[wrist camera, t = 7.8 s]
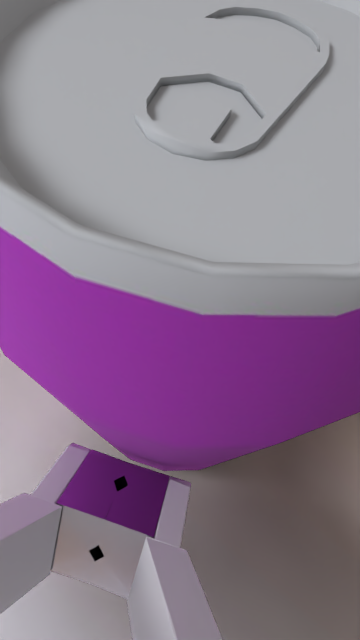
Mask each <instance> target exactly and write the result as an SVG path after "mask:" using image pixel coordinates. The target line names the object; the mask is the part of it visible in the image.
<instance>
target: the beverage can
mask: <svg viewBox="0 0 360 640" xmlns="http://www.w3.org/2000/svg"><path fill="white" fill-rule="evenodd" d="M0 347H1V349H2V351H3V353H4V355H5V356H6V357H8V358H9V359H10V360H11V361H12V362H14V363H15V364H16V365H17V366H18V367H19V368H21V369H22V370H23V371H24V372H25V373H27V374H28V375H29V376H30V377H31V378H33V379H34V380H35V381H36V382H37V383H38V384H40V385H41V386H42V387H43V388H44V389H46V390H47V391H48V392H49V393H50V394H52V395H53V396H54V397H55V398H56V399H57V400H59V401H60V402H61V403H62V404H63V405H65V406H66V407H67V408H68V409H69V410H71V411H72V412H73V413H74V414H75V415H77V416H78V417H79V418H80V419H81V420H82V421H84V422H85V423H86V424H87V425H88V426H90V427H91V428H92V429H93V430H94V431H96V432H97V433H98V434H99V435H100V436H101V437H103V438H104V439H105V440H106V441H108V442H109V443H110V444H111V445H113V446H114V447H115V448H117V449H118V450H119V451H120V452H122V453H123V454H124V455H125V456H127V457H128V458H129V459H130V460H133V461H136V462H139V463H142V464H145V465H148V466H151V467H154V468H157V469H160V470H163V471H177V470H201V469H204V468H207V467H210V466H213V465H216V464H219V463H222V462H225V461H228V460H231V459H234V458H237V457H240V456H243V455H246V454H249V453H252V452H255V451H258V450H261V449H264V448H267V447H270V446H273V445H276V444H279V443H281V442H284V441H286V440H289V439H292V438H294V437H297V436H299V435H302V434H304V433H307V432H310V431H312V430H315V429H317V428H320V427H322V426H325V425H327V424H330V423H333V422H335V421H338V420H340V419H343V418H345V417H348V416H351V415H353V414H356V413H358V412H360V0H0Z"/></svg>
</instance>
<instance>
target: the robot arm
mask: <svg viewBox="0 0 360 640" xmlns="http://www.w3.org/2000/svg"><path fill="white" fill-rule="evenodd" d="M169 477H170V478H169ZM190 490H191V484H190V482H187V481H184V480H181V479H178V478H175V477H172V476H168V475H165V474H162V473H159V472H156V471H153V470H150V469H146V468H143V467H140V466H137V465H134V464H130V463H128V462H125V461H122V460H120V459H117V458H114V457H111V456H109V455H106V454H103V453H100V452H98V451H95V450H90V449H88V448H85V447H82V446H80V445H77V444H75V443H72V444H70V445H69V446H67V448H66V449H65V450H64V452H63V453H62V454H61V455H60V457H59V458H58V459H57V461H56V462H55V463H54V465H53V466H52V467H51V469H50V470H49V471H48V473H47V474H46V475H45V477H44V478H43V479H42V480H41V482H40V483H39V484H38V486H37V487H36V488H35V490H34V491H33V492H32V494H31V495H29V494H26V493H23V494H20V495H18V496H16V497H14V498H12V499H10V500H8V501H5V502H3V503H1V504H0V614H1V613H2V612H4V611H5V610H6V609H7V608H9V607H10V606H11V605H12V604H13V603H15V602H16V601H17V600H18V599H20V598H21V597H22V596H23V595H25V594H26V593H27V592H28V591H30V590H31V589H32V588H33V587H35V586H36V585H37V584H38V583H39V582H41V581H42V580H43V579H44V578H46V577H47V576H48V575H49V574H50V571H52V572H55V573H58V574H61V575H64V576H67V577H70V578H73V579H76V580H79V581H82V582H85V583H88V584H89V583H90V584H91V585H93V586H96V587H98V588H100V589H103V590H105V591H108V592H110V593H113V594H115V595H118V596H120V597H122V598H125V599H127V607H128V613H129V620H130V627H131V633H132V640H223V639H222V636H221V634H220V631H219V629H218V626H217V624H216V621H215V619H214V616H213V614H212V611H211V609H210V606H209V604H208V601H207V599H206V596H205V594H204V591H203V588H202V586H201V583H200V581H199V578H198V576H197V573H196V571H195V568H194V566H193V563H192V561H191V558H190V556H189V553H188V551H187V550H184V549H182V548H181V544H182V538H183V532H184V526H185V520H186V514H187V508H188V502H189V496H190Z"/></svg>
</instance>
